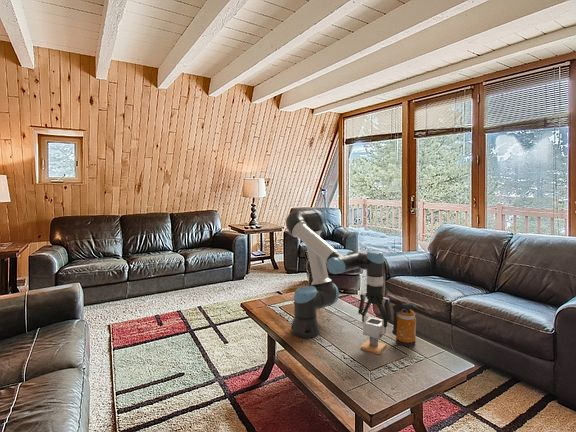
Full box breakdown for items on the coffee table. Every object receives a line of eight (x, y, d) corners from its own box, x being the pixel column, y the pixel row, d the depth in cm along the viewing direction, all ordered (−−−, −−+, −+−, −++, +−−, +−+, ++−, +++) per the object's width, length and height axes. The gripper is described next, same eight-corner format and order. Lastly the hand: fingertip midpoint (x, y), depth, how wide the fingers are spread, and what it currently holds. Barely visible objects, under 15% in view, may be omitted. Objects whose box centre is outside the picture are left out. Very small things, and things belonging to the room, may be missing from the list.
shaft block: (360, 348, 163) (361, 333, 162) (368, 341, 170) (368, 326, 169) (379, 354, 158) (379, 338, 157) (386, 346, 165) (386, 331, 164)
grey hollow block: (363, 334, 162) (363, 322, 161) (369, 328, 168) (369, 316, 168) (379, 339, 157) (379, 326, 157) (385, 332, 164) (385, 320, 163)
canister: (416, 348, 163) (418, 307, 161) (392, 346, 165) (393, 305, 163) (413, 339, 172) (415, 300, 170) (390, 337, 174) (391, 299, 172)
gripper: (350, 282, 163) (350, 328, 166) (394, 290, 151) (393, 339, 154) (357, 278, 169) (357, 323, 172) (399, 285, 157) (399, 333, 160)
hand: (374, 330), depth 163 cm, fingers closed on grey hollow block, 8 cm apart
